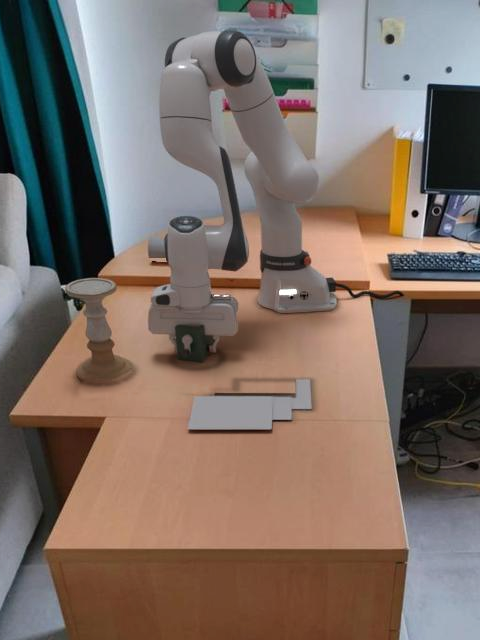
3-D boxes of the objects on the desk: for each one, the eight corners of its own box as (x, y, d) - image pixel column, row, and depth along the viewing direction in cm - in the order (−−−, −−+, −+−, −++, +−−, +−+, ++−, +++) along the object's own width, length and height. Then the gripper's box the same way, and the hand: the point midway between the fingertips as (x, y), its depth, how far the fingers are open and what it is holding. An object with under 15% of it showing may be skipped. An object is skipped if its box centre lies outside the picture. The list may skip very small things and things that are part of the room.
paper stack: (199, 379, 162) (198, 376, 161) (310, 379, 164) (310, 376, 163) (187, 432, 143) (187, 429, 142) (313, 432, 145) (313, 429, 144)
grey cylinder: (175, 266, 225) (173, 241, 220) (148, 265, 224) (146, 240, 220) (181, 256, 233) (179, 232, 229) (155, 255, 233) (153, 231, 229)
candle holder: (143, 365, 167) (131, 279, 155) (116, 388, 157) (102, 299, 145) (95, 357, 169) (80, 273, 158) (66, 380, 159) (47, 291, 148)
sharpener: (192, 343, 175) (189, 311, 170) (216, 346, 174) (213, 314, 169) (173, 364, 165) (169, 331, 160) (198, 367, 164) (195, 334, 159)
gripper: (238, 290, 165) (240, 346, 173) (148, 288, 163) (154, 345, 171) (236, 299, 160) (239, 357, 167) (143, 297, 158) (149, 355, 166)
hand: (195, 351), depth 169 cm, fingers closed on sharpener, 6 cm apart
